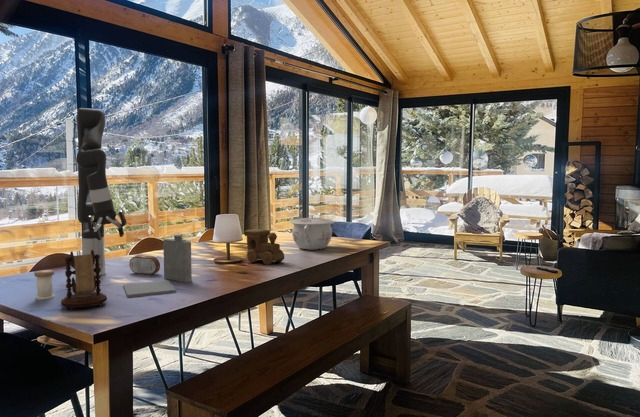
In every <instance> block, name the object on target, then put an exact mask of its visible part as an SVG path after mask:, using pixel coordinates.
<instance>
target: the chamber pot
mask: <svg viewBox="0 0 640 417" xmlns="http://www.w3.org/2000/svg"><path fill="white" fill-rule="evenodd" d="M289 223H290V224H293V228H292V231H291V232H292V239H293V241H294V243H295V245H296V246H297V247H298V248H300V249H301V250H304V249H307V250H306V251H319V250H318V249H320V250H323V249H325V248H327V247H328V246H329V244H330V242H331V240H332V236H333V228H332V226H331V225H332V224H335V221H334V220H332V219H328V218H322V217H321V218H320V217H314V215H313V214H311V216H310V217H302V218H296V219H293V220H290V222H289Z"/></svg>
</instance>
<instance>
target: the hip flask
mask: <svg viewBox="0 0 640 417" xmlns="http://www.w3.org/2000/svg"><path fill="white" fill-rule="evenodd" d="M162 241H163V243H162V244H163V279H164V280H165V279H166V280H173V281H179V282H183V283H185V284H186V283H192V281H193V280H192V278H193V277H192V272H193V271H192V241H190V240H188V239H183V234H174V235H173V238H163V240H162Z"/></svg>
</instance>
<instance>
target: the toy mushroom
mask: <svg viewBox="0 0 640 417" xmlns="http://www.w3.org/2000/svg"><path fill="white" fill-rule="evenodd" d="M53 275H55V271H54V270H52V269H42V270H37V271H34V277H36V289H37V290H36V291H37V292H36V293H37V295H36V297H35V299H36V300H38V301H44V300H46V301H47V300H51V299H54V298H55V293H53V291H54V290H53V289H54V288H53Z"/></svg>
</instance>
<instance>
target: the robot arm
mask: <svg viewBox="0 0 640 417" xmlns="http://www.w3.org/2000/svg"><path fill="white" fill-rule="evenodd" d="M76 125H77V126H76V127H77V128H76V129H77V141H78V142H77V144H78V146H77V148H78V150H77V153H76V163H77V174H78V175H77V176H78V178H77V179H78V193H77V194H78V196H77V220H78V222H79V223H81V224H87V226H88V228H87V229H86V230H83V231H82V232H81V244H82V248H81V250H82V255H87V254H91V250H93V251H94V254H95V255H96V254H98V255H100V259H98V260H100V261H99V264H100V266H99V267H100V269H101V271H100V273H99V275H100V276H102V275H105V274H106V257H105V256H106V253H105V252H106V249H105V248H106V246H105V225H111V224H113V226H115V227H117V231H118V235H119V238H122V237H123V236H124V235H125V230H124V228H123V227H125V226H126V225H127V224H128V223H127V220H126V216H125V213H124V210H119V211H117V212H116V210H115V207H114V203H113V199H112V194H111V190H110V188H109V185H108V180H107V174H106V172H107V170H106V169H107V153H106V152H105V151H104V150H103V148H102V138H103V135H104V130H105V126H106V116H105V112H104V111H103V110H102V109H99V108H98V109H97V108H85V107H80V108H78V109H77V112H76ZM86 131H87V132H86ZM88 197H90V201H91V202H87V201H88ZM116 217H118V218H119V219H120V220H119V219H118V218H116ZM94 223H95V224H94ZM95 260H96V259H95ZM95 263H96V261H95ZM95 267H96V266H95V264H94V265H93V268H95ZM94 275H95V277H96V272H94Z"/></svg>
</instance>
